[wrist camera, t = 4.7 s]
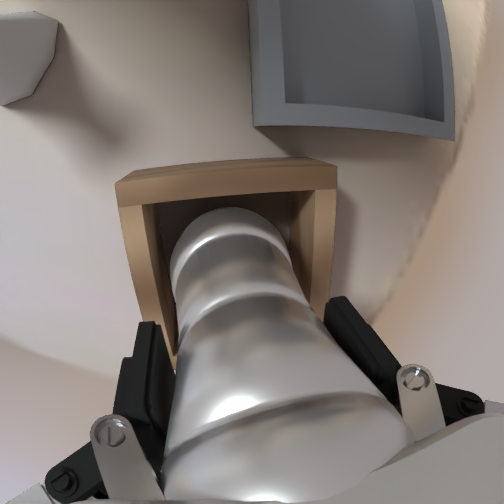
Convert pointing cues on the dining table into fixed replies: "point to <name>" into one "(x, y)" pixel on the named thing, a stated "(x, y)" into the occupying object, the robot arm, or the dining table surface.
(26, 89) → the flask
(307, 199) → the holder
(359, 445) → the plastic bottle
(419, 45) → the parts tray
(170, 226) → the dining table surface
